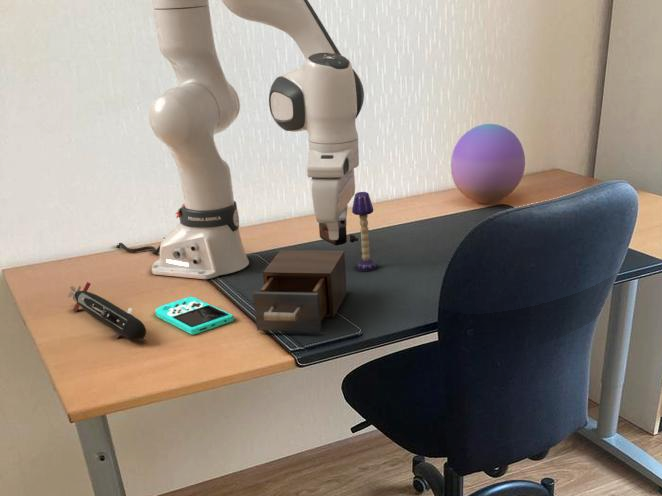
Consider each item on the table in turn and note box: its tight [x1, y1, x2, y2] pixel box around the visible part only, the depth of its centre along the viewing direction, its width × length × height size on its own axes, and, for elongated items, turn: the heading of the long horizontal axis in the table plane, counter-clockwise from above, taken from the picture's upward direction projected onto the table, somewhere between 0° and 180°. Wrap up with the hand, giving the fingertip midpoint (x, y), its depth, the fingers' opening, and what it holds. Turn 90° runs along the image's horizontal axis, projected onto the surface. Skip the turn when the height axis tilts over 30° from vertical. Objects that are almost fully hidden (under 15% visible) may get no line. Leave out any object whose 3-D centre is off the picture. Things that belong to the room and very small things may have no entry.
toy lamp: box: [351, 191, 377, 272], centre depth 184 cm, size 5×5×17 cm
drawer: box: [252, 276, 329, 333], centre depth 160 cm, size 17×12×7 cm
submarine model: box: [67, 281, 147, 342], centre depth 166 cm, size 31×7×10 cm
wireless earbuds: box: [318, 223, 359, 247], centre depth 157 cm, size 5×7×3 cm, turn 32°
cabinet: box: [262, 249, 348, 319], centre depth 170 cm, size 14×14×9 cm
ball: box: [450, 123, 526, 204], centre depth 225 cm, size 20×20×20 cm
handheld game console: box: [154, 296, 235, 336], centre depth 169 cm, size 10×16×1 cm, turn 41°
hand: (338, 233), depth 156 cm, fingers closed on wireless earbuds, 5 cm apart
